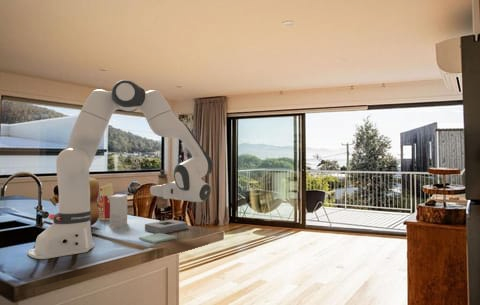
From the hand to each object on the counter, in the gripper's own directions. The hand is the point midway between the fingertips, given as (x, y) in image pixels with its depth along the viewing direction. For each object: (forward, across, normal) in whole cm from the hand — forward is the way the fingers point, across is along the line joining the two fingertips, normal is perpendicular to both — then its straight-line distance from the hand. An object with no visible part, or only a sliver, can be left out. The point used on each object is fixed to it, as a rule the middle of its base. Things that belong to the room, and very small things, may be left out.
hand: (161, 188), depth 161 cm
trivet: (-8, +8, +21) cm, 24 cm away
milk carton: (+52, -2, +21) cm, 57 cm away
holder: (+3, -6, +21) cm, 22 cm away
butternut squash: (+38, +18, +21) cm, 47 cm away
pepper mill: (-1, 0, +9) cm, 9 cm away
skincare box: (+29, +4, +21) cm, 36 cm away
